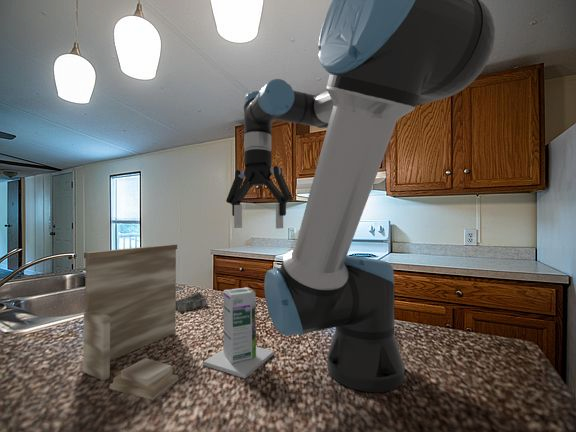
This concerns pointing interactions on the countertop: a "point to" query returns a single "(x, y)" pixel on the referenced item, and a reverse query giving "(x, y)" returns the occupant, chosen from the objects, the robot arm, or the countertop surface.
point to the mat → (238, 363)
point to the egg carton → (191, 302)
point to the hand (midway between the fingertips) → (258, 228)
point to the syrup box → (239, 324)
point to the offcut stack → (145, 379)
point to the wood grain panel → (127, 303)
